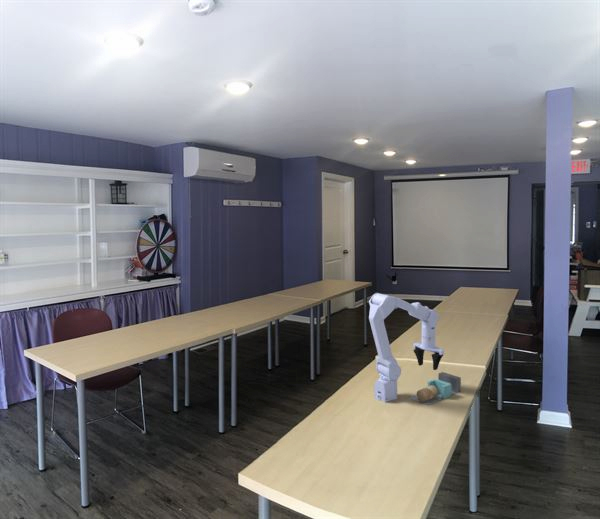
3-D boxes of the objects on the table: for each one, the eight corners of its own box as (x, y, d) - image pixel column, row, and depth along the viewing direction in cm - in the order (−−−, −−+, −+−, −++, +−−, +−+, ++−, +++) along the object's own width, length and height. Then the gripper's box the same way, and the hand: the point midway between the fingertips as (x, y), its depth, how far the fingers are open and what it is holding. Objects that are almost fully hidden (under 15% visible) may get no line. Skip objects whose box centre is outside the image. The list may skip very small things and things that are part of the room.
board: (427, 407, 178) (427, 405, 178) (407, 399, 186) (407, 397, 186) (457, 394, 190) (457, 393, 190) (437, 387, 198) (437, 386, 198)
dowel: (426, 403, 180) (426, 392, 180) (416, 399, 184) (416, 388, 183) (438, 398, 185) (438, 387, 184) (428, 395, 189) (428, 383, 188)
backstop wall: (456, 394, 191) (456, 379, 190) (438, 387, 198) (438, 373, 197) (460, 392, 192) (460, 377, 192) (442, 386, 200) (442, 372, 199)
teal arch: (443, 398, 184) (444, 386, 184) (427, 392, 191) (427, 381, 190) (451, 395, 187) (451, 383, 187) (434, 390, 194) (435, 378, 193)
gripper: (448, 338, 191) (447, 369, 193) (420, 331, 203) (419, 361, 204) (438, 341, 187) (438, 373, 188) (410, 334, 198) (410, 364, 200)
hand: (427, 367), depth 196 cm, fingers open, 7 cm apart
